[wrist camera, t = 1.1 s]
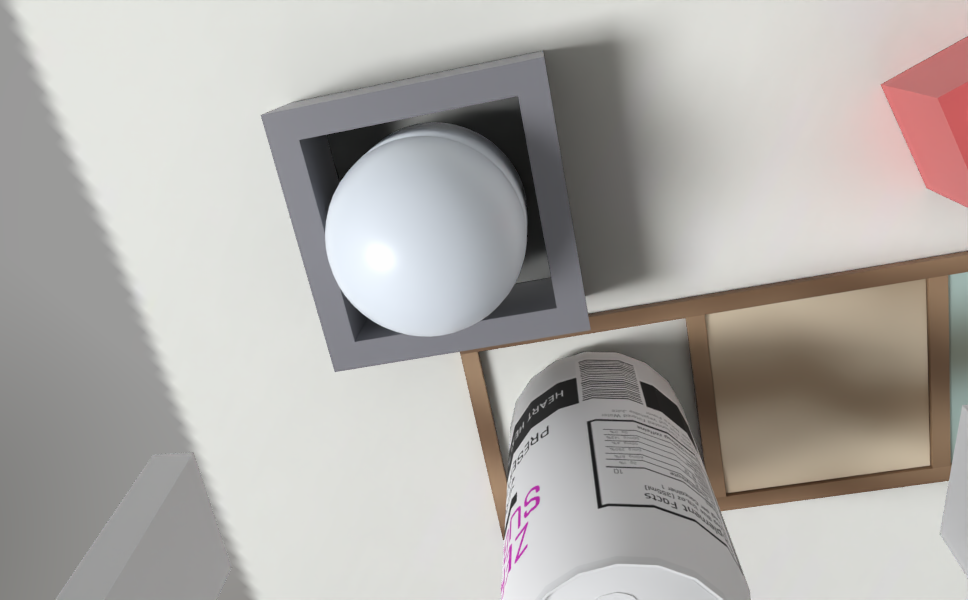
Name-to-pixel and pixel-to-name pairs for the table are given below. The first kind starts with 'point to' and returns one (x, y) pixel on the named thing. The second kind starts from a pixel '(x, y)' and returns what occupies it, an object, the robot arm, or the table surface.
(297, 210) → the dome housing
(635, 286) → the table surface
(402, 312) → the dome button
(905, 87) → the red die
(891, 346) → the frame
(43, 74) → the table surface
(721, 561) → the supplement can
